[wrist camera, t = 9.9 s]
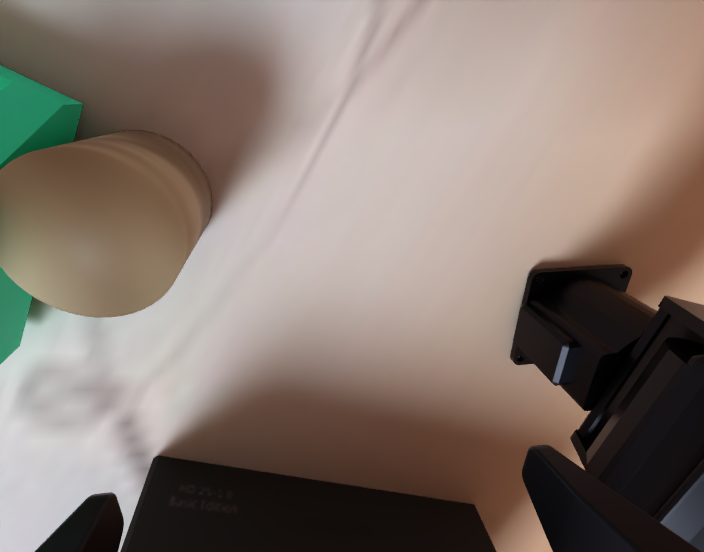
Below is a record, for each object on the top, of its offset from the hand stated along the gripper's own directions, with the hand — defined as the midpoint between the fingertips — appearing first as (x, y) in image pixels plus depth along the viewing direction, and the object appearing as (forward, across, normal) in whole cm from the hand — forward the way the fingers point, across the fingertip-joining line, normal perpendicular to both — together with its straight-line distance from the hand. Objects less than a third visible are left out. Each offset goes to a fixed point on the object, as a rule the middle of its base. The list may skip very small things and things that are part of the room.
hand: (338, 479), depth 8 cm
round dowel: (+13, +7, -3) cm, 15 cm away
